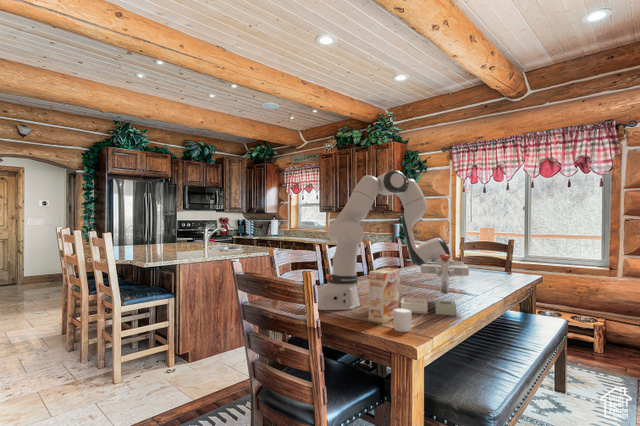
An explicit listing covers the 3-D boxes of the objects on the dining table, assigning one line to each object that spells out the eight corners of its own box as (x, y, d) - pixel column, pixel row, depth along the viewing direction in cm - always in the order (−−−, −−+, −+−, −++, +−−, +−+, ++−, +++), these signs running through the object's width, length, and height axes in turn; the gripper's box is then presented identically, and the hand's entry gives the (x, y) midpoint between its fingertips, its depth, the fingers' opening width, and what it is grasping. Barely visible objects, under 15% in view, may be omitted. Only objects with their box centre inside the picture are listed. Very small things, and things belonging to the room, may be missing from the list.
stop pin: (443, 294, 150) (443, 255, 150) (437, 292, 154) (437, 254, 154) (452, 293, 151) (452, 255, 151) (446, 291, 155) (446, 254, 155)
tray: (400, 312, 153) (400, 302, 153) (402, 305, 163) (402, 297, 163) (427, 314, 150) (427, 304, 150) (427, 307, 160) (427, 298, 160)
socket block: (436, 314, 150) (435, 304, 150) (435, 309, 158) (435, 300, 158) (456, 315, 148) (456, 305, 148) (454, 310, 155) (454, 301, 155)
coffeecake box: (384, 324, 136) (384, 273, 136) (367, 320, 140) (367, 271, 141) (400, 315, 148) (400, 268, 148) (384, 312, 152) (384, 267, 153)
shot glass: (410, 333, 125) (410, 313, 125) (391, 331, 128) (391, 311, 128) (412, 327, 132) (413, 308, 132) (394, 325, 134) (394, 307, 134)
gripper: (420, 259, 168) (420, 263, 155) (466, 262, 162) (470, 266, 149) (420, 273, 168) (419, 278, 155) (466, 275, 162) (470, 281, 149)
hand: (445, 272), depth 152 cm, fingers closed on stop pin, 3 cm apart
